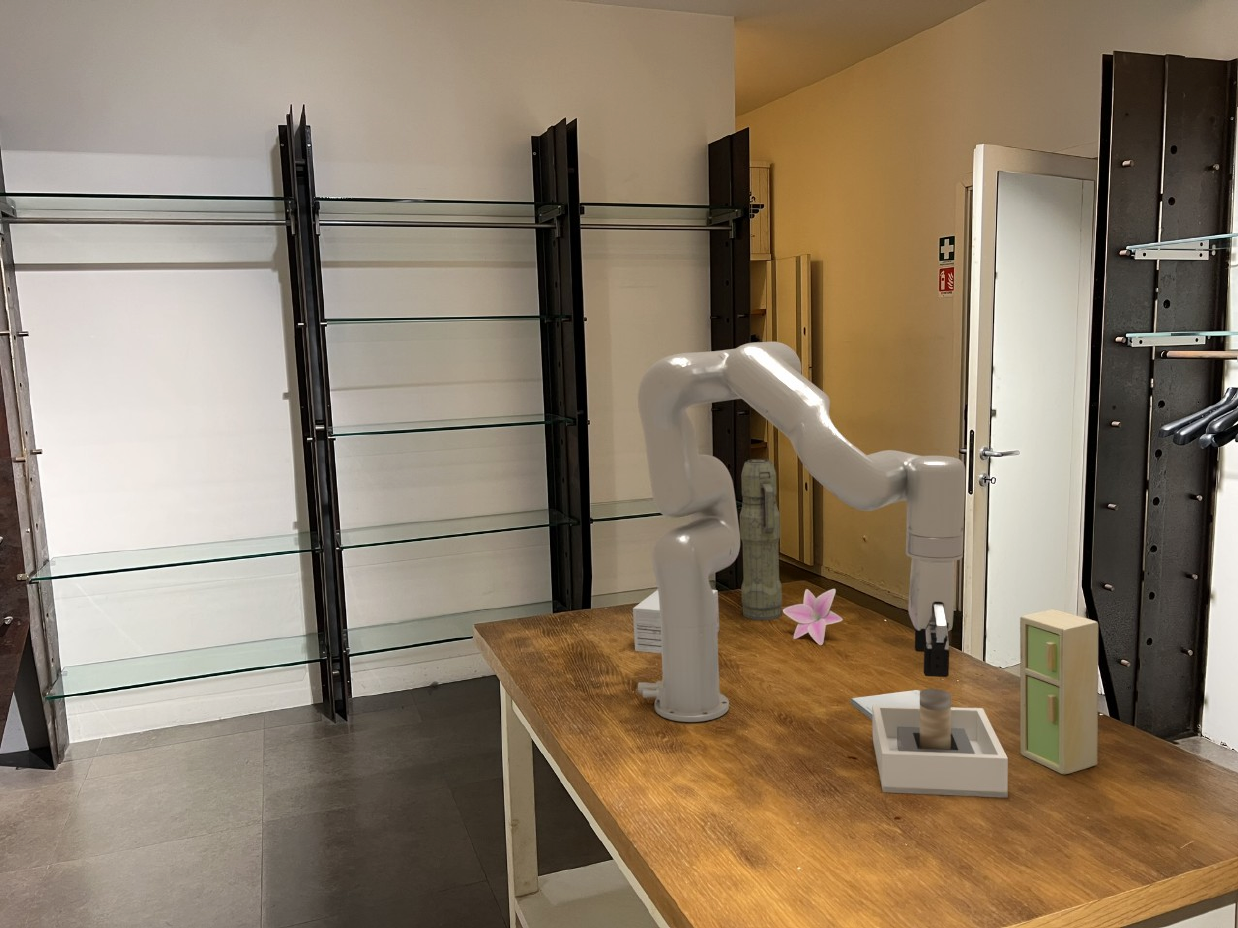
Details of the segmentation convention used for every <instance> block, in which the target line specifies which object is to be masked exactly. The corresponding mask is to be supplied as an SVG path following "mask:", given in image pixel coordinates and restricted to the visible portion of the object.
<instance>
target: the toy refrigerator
mask: <svg viewBox="0 0 1238 928" xmlns="http://www.w3.org/2000/svg"><path fill="white" fill-rule="evenodd" d="M1019 620H1020V621H1019V635H1020V636H1019V642H1020V643H1019V650H1020V651H1019V652H1020V653H1019V654H1020V655H1019V659H1020V665H1019V666H1020V670H1019V671H1020V673H1019V675H1020V681H1019V683H1020V685H1019V686H1020V687H1019V688H1020V689H1019V690H1020V694H1019V695H1020V700H1019V702H1020V705H1019V707H1020V708H1019V709H1020V710H1019V711H1020V712H1019V713H1020V721H1019V722H1020V724H1019V725H1020V727H1019V728H1020V729H1019V732H1020V733H1019V734H1020V736H1019V737H1020V738H1019V739H1020V742H1019V743H1020V744H1019V745H1020V755H1022V756H1024V757H1025V758H1027V759H1029V760H1031V761H1033V762H1036V763H1038V764H1040V765H1041V766H1045V767H1047V768H1048V769H1050V770H1053V771H1055V772H1057V773H1058V774H1061V775H1068V774H1073V773H1076V772H1078V771H1082V770H1085V769H1088V768H1091V767H1094V766H1097V765H1098V725H1099V724H1098V720H1099V719H1098V717H1099V716H1098V715H1099V712H1098V711H1099V710H1098V709H1099V708H1098V704H1099V702H1098V701H1099V699H1098V698H1099V695H1098V694H1099V689H1098V688H1099V686H1098V685H1099V623H1098V621H1096V620H1092V619H1090V618H1087V617H1083V616H1080V615H1075V614H1073V613H1069V612H1065V611H1062V610H1059V609H1053V608H1051V609H1047V610H1042V611H1037V612H1033V613H1027V614H1025V615H1021V616H1020V618H1019Z"/></svg>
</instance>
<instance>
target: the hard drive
mask: <svg viewBox="0 0 1238 928" xmlns="http://www.w3.org/2000/svg"><path fill="white" fill-rule="evenodd" d="M920 692H921V690H919V689H914V690H907V691H898V692H890V693H882V694H876V695H875V694H874V695H868V696H867V695H866V696H858V697H853V698H850V701H849V702H850V703H849V704H850V705H852V706H853V707H854V708H855V709H857V710H858V709H859V710H860V713H861V714H863V715H864V716H866V717H867V718H868V719H869V720H871V722H873V710H872V705H884V706H920ZM859 710H858V711H859Z"/></svg>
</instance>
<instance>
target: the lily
mask: <svg viewBox="0 0 1238 928" xmlns="http://www.w3.org/2000/svg"><path fill="white" fill-rule="evenodd" d="M836 591H837V590H836V588H832V589H828V590H827V591H825V592H822V593H821V594H820V595H818V596H817V597H816V596H815V595H814V594H813V593H812V592H811V591H810V590H809V589H808V588H806V589H805V591H804V595H803V603H798V604H794V605H790V606H787V607H785V608H783V609H782V612H783V614H784V615H786V616H787V617H788V618H790V619H791V620H793V621H794V622H797V624H796V625H797V626H796V627H795V630H794V633H793V640H797V639H799V638H800V637H802V636H804V635H806V634H808V635H810V637H811V638H812V639H813V640H814V641H815V642H816V643H817V644H818V645H819V646H822V645H823V644H824V641H825V636H826V635H825V633H826V626H827V625H832V624H837V623H840V622H842V621H843V620H844V619H843V617H841V616H840V615H839V614H837V613H835V612H833V610H830V609H831V607H832V604H833V601H834V597H835V595H836Z"/></svg>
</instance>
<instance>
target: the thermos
mask: <svg viewBox="0 0 1238 928" xmlns="http://www.w3.org/2000/svg"><path fill="white" fill-rule="evenodd" d="M740 476H741V479H740V480H741V496H742V502H741V506H742V507H741V510H740V513H739V532H740V541H741V542H742V562H743V563H742V566H743V567H742V568H743V569H742V570H743V572H742V573H743V581H742V583H741V604H742V615H743V617H744V618H747V619H749V620H754V621H771V620H776V619H779V618H780V617H782V612H783V610H782V604H783V591H782V589H783V588H782V587H783V586H782V585H783V584H782V582H781V581H780V564H779V563H780V562H779V561H780V560H779V556H780V555H779V541H780V538H781V515H780V511H779V509H778V506H777V505H778V504H777V503H778V501H777V493H778V492H777V472H776V469H775V466H774V464H773V461H771V460H769V459H766V458H756V459H755V458H754V459H753V458H752V459H748V460H747V461H744V464H743V467H742V471H741V474H740Z"/></svg>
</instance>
